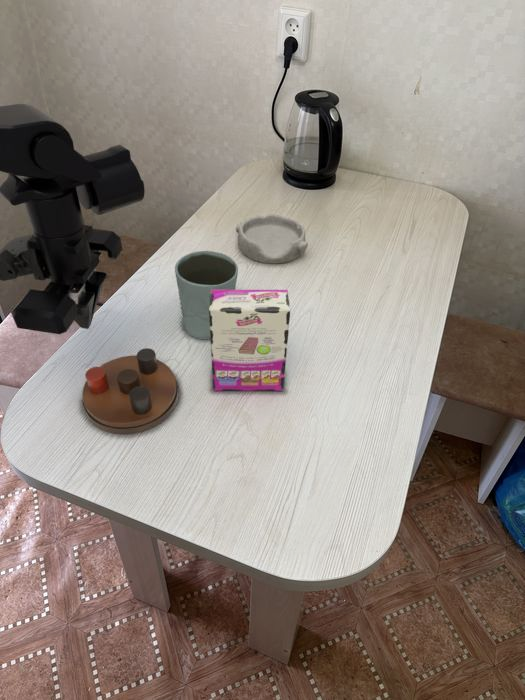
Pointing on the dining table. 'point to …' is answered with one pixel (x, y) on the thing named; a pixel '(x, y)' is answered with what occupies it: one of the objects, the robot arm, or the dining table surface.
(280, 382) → the candy bar box
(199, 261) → the grey green pot
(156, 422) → the base
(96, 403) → the spice rack
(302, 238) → the dish
